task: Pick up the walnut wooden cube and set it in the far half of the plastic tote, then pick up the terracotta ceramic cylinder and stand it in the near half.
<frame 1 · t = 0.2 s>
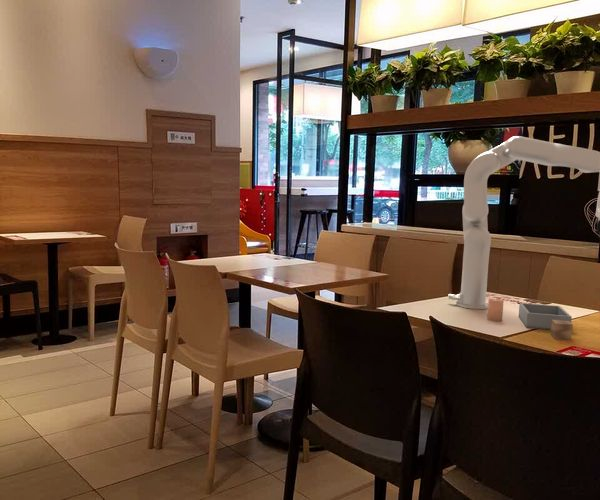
terracotta cylinder: (494, 319, 198), on the table
walnut cube: (560, 337, 177), on the table
tote: (543, 323, 195), on the table
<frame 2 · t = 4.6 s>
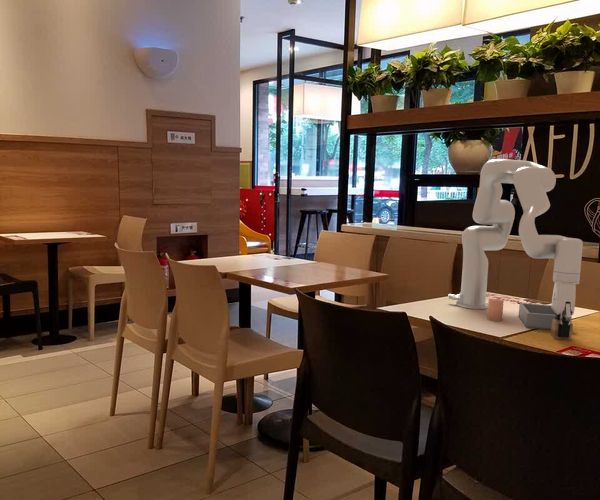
hand: (561, 334, 177), 1 cm above the table, fingers closed on walnut cube, 5 cm apart
walnut cube: (560, 337, 177), on the table, touching gripper
everything else where it was.
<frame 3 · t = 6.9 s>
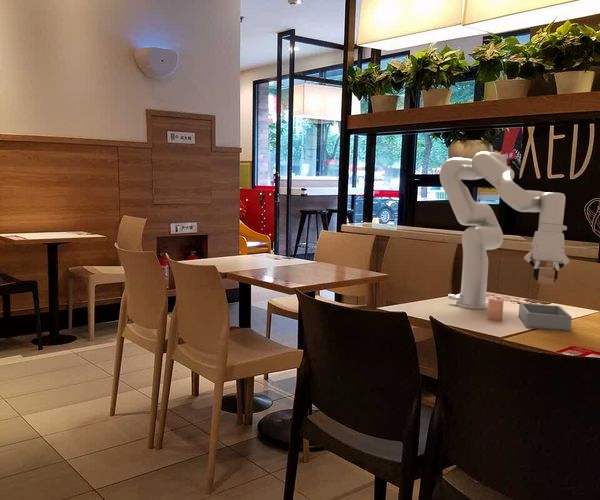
hand: (544, 280, 195), 15 cm above the table, fingers closed on walnut cube, 5 cm apart
walnut cube: (544, 282, 196), point 14 cm above the table, touching gripper
everything else where it was.
when the fingers open (5 cm above the table, at t = 9.5 s): walnut cube drops 3 cm, resting on tote.
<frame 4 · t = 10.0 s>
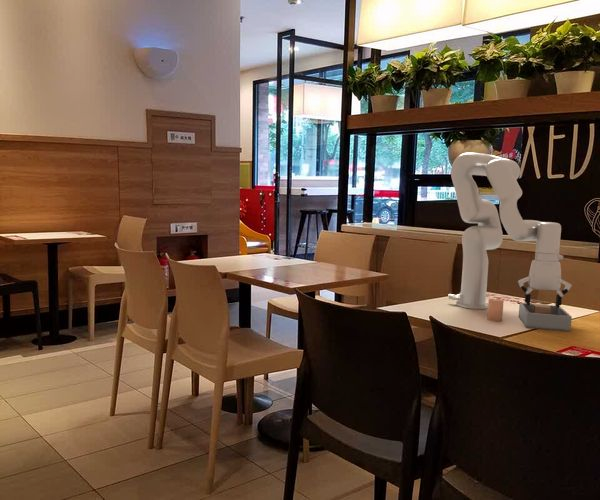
hand: (542, 306, 197), 5 cm above the table, fingers open, 9 cm apart
walnut cube: (540, 319, 198), point 1 cm above the table, touching tote
everything else where it was.
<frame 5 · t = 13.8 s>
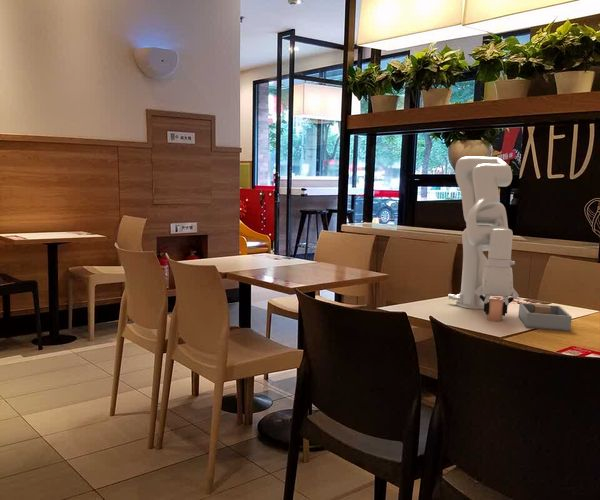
hand: (495, 314, 198), 2 cm above the table, fingers closed on terracotta cylinder, 5 cm apart
terracotta cylinder: (494, 319, 198), on the table, touching gripper
everything else where it was.
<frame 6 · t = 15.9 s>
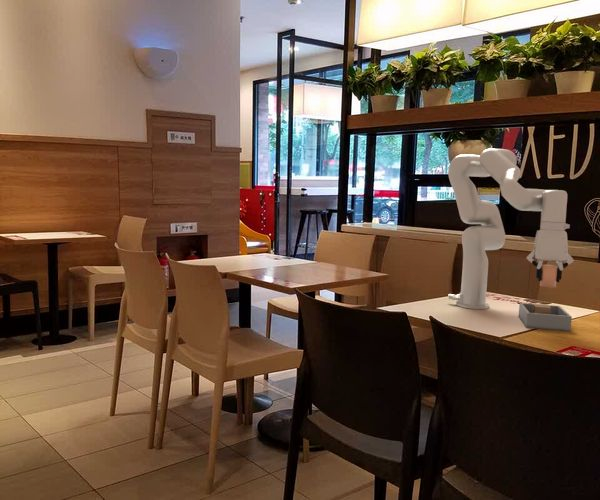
hand: (548, 280, 189), 16 cm above the table, fingers closed on terracotta cylinder, 5 cm apart
terracotta cylinder: (547, 286, 190), point 14 cm above the table, touching gripper
everything else where it was.
when the fingers open (5 cm above the table, at t = 18.3 s): terracotta cylinder drops 2 cm, resting on tote.
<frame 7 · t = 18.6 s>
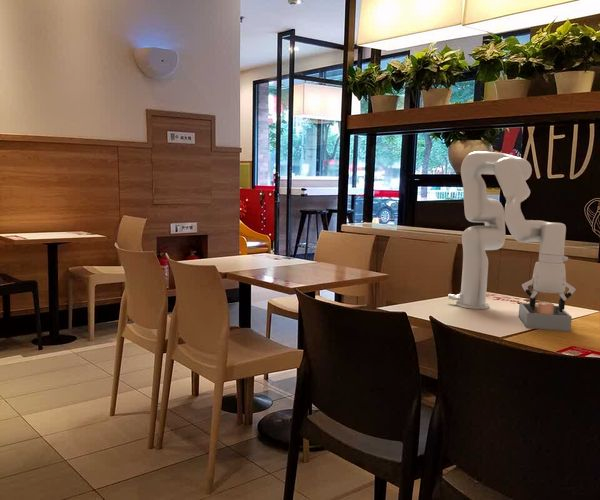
hand: (546, 310, 191), 6 cm above the table, fingers open, 8 cm apart
terracotta cylinder: (544, 323, 191), point 1 cm above the table, touching tote
everything else where it was.
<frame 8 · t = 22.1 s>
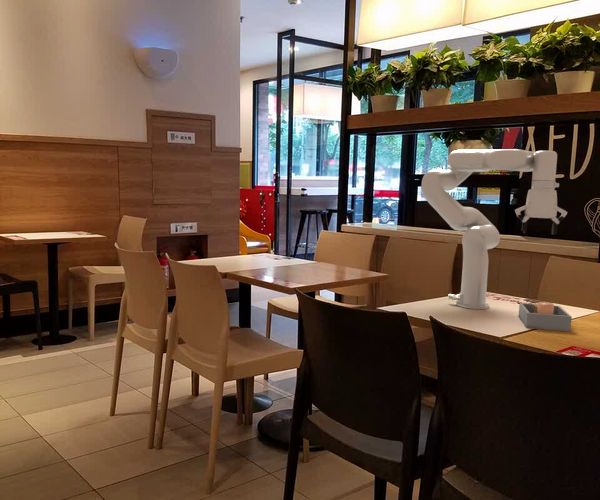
hand: (538, 234, 201), 30 cm above the table, fingers open, 9 cm apart
nothing on the table moved.
at the end: walnut cube inside the target area on the tote (3.5 cm from its centre), point 0.6 cm above the tote's base; terracotta cylinder inside the target area on the tote (3.5 cm from its centre), point 0.7 cm above the tote's base; terracotta cylinder tilted 2° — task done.
